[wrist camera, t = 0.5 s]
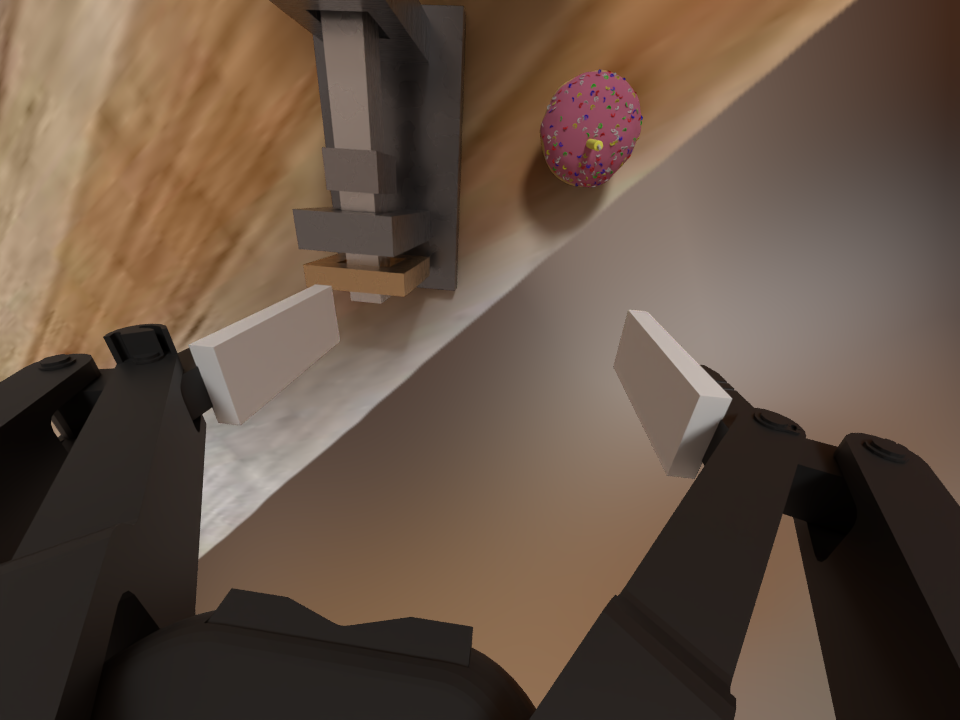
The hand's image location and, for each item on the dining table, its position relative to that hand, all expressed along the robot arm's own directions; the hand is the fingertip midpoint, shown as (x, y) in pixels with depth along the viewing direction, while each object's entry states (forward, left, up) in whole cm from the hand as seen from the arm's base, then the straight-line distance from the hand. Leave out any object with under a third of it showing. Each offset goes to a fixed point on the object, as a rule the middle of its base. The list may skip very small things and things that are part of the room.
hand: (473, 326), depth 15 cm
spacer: (+2, -12, -19) cm, 22 cm away
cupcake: (-11, +7, -27) cm, 30 cm away
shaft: (-7, -12, -20) cm, 24 cm away
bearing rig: (-7, -12, -27) cm, 30 cm away
